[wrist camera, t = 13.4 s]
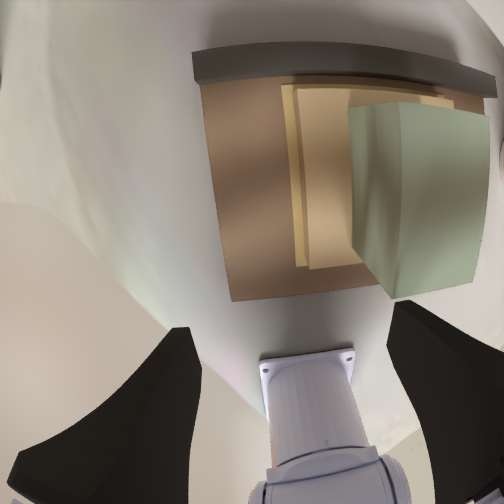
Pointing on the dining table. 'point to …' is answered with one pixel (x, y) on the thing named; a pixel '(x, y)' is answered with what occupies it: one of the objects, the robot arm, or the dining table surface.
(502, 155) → the dixie cup
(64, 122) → the dining table surface
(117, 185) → the dining table surface
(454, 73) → the dock
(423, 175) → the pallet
